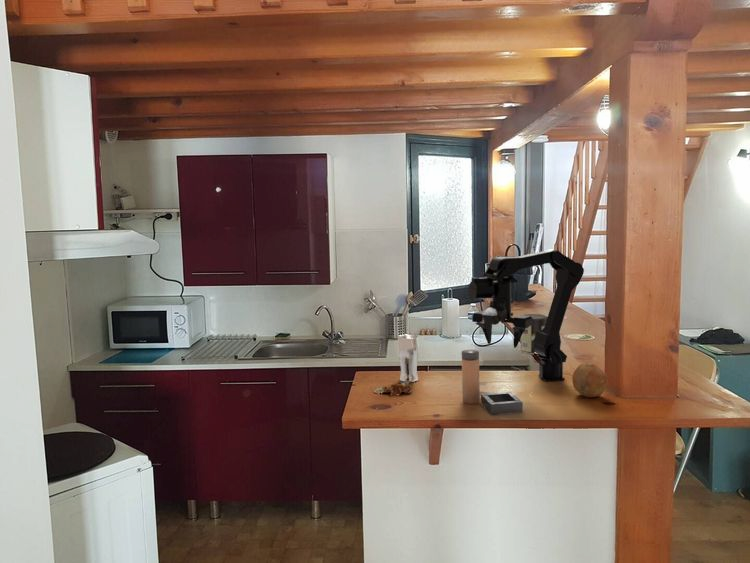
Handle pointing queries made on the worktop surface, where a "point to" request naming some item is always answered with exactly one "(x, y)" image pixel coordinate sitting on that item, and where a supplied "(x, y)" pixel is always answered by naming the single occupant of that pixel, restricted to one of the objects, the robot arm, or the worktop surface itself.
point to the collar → (501, 403)
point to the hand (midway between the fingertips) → (502, 345)
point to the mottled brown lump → (395, 388)
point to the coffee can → (532, 333)
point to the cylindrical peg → (470, 376)
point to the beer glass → (408, 357)
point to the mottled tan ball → (589, 380)
